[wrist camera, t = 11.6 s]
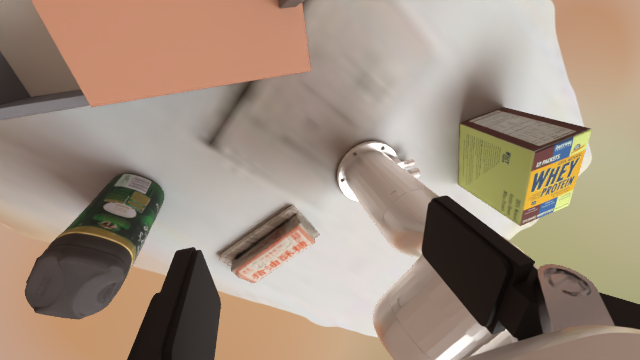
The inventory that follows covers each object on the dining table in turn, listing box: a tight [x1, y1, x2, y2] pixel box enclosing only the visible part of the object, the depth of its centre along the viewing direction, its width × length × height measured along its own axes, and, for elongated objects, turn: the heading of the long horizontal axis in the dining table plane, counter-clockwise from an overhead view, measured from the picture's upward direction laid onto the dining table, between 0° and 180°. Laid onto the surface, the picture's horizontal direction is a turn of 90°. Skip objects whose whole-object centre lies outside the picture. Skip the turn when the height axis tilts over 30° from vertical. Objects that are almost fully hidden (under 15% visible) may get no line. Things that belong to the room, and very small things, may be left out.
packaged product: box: [219, 205, 320, 283], centre depth 51 cm, size 18×5×10 cm
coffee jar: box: [25, 174, 164, 319], centre depth 33 cm, size 10×8×19 cm
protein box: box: [458, 107, 591, 226], centre depth 48 cm, size 10×15×16 cm
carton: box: [0, 0, 90, 120], centre depth 26 cm, size 22×18×10 cm
